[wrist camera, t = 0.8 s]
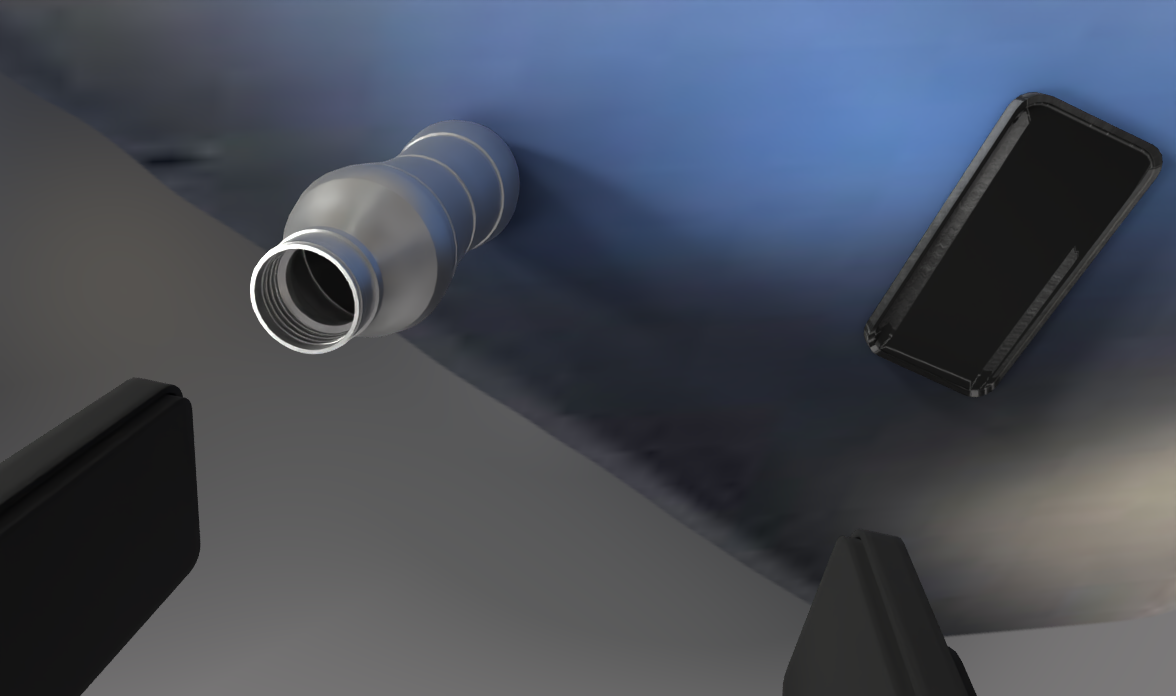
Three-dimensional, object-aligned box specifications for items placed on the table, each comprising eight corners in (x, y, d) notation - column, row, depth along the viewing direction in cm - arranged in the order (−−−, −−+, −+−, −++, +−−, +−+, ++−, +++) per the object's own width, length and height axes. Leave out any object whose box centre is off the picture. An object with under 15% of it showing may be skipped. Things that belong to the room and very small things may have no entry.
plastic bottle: (545, 142, 40) (432, 244, 22) (504, 253, 43) (373, 425, 25) (433, 94, 40) (225, 156, 22) (399, 209, 43) (189, 350, 24)
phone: (859, 347, 42) (1031, 86, 35) (855, 339, 43) (1022, 84, 36) (985, 404, 42) (1176, 156, 36) (977, 395, 43) (1162, 152, 37)
